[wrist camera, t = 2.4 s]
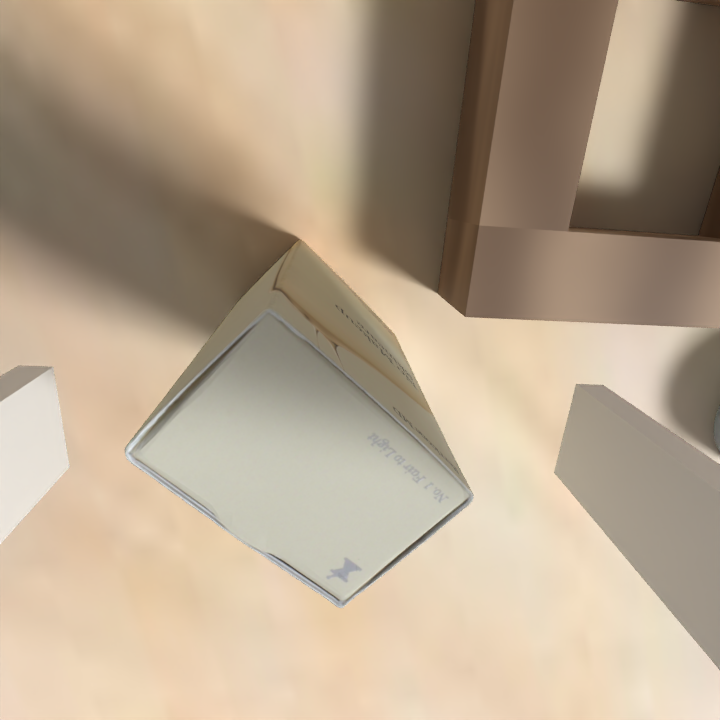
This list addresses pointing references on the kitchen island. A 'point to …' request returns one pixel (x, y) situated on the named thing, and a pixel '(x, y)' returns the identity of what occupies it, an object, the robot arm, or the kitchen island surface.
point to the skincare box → (306, 434)
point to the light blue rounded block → (717, 429)
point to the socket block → (555, 186)
